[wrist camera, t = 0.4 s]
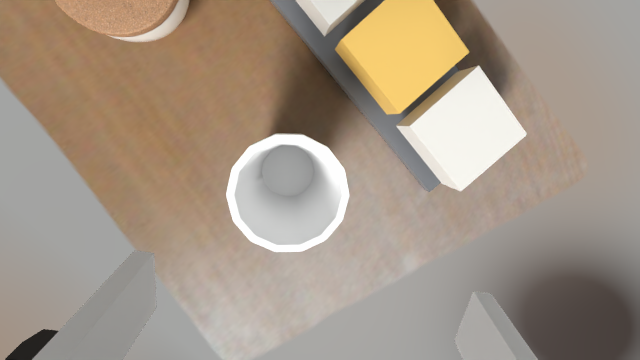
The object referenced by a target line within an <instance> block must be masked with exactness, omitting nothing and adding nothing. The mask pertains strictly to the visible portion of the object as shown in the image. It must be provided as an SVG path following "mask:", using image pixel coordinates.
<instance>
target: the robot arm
mask: <svg viewBox="0 0 640 360" xmlns="http://www.w3.org/2000/svg"><path fill="white" fill-rule="evenodd" d="M156 307H157V305H156V285H155V262H154V253H151V252H142V251H134V252H133V253H132V254H131V255H130V256H129V257H128V258H127V259H126V260H125V261H124V262H123V263H122V264H121V265H120V267H119V268H118V269H117V270H116V271H115V272H114V273H113V274H112V275H111V276H110V277H109V278H108V279H107V280H106V281H105V282H104V284H103V285H102V286H101V287H100V288H99V289H98V290H97V291H96V292H95V293H94V294H93V295H92V296H91V297H90V298H89V300H88V301H87V302H86V303H85V304H84V305H83V306H82V307H81V308H80V309H79V310H78V311H77V312H76V313H75V314H74V315H73V317H72V318H71V319H70V320H69V321H68V322H67V323H66V324H65V325H64V326H63V327H62V328H61V329H60V330H59V331H55V330H45V329H43V330H41V331H40V332H38V333H37V334H35V335H33V336H32V337H30V338H28V339H27V340H25V341H24V342H22V343H21V344H20V345H19V346H18V347H17V348H16V349H15V350H14V351H13V352H12V353H11V354H10V355H9V356H8V357H7V358H6V359H5V360H123V359H124V357H125V356H126V354H127V352H128V351H129V349H130V348H131V346H132V345H133V343H134V342H135V340H136V338H137V337H138V335H139V333H140V332H141V331H142V329H143V328H144V326H145V325H146V323H147V321H148V320H149V318H150V317H151V315H152V314H153V312H154V311H155V309H156ZM455 343H456V346H457V348H458V350H459V352H460V354H461V356H462V359H463V360H538V359H537V358H536V357H535V355H534V354H533V352H532V351H531V349H530V348H529V347H528V345H527V344H526V342H525V341H524V339H523V338H522V337H521V335H520V334H519V333H518V331H517V330H516V328H515V327H514V325H513V324H512V322H511V321H510V320H509V318H508V317H507V315H506V314H505V313H504V311H503V310H502V308H501V307H500V306H499V304H498V303H497V301H496V300H495V298H494V297H493V296H492V294H491V293H483V292H475V291H473V293H472V296H471V299H470V301H469V304H468V306H467V309H466V312H465V314H464V317H463V319H462V322H461V325H460V327H459V330H458V332H457V335H456V337H455Z"/></svg>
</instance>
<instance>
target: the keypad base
mask: <svg viewBox="0 0 640 360" xmlns="http://www.w3.org/2000/svg"><path fill="white" fill-rule="evenodd" d="M270 1H271V2H272V4H273V5H274V6H275V7H276V9H277V10H278V11H279V12H280V13H281V15H282V16H283V17H284V18H285V20H286V21H287V22H288V23H289V24H290V26H291V27H292V28H293V29H294V31H295V32H296V33H297V34H298V35H299V37H300V38H301V39H302V40H303V42H304V43H305V44H306V45H307V46H308V48H309V49H310V50H311V51H312V53H313V54H314V55H315V56H316V57H317V59H318V60H319V61H320V62H321V64H322V65H323V66H324V67H325V68H326V70H327V71H328V72H329V73H330V75H331V76H332V77H333V78H334V79H335V81H336V82H337V83H338V84H339V86H340V87H341V88H342V89H343V90H344V92H345V93H346V94H347V95H348V97H349V98H350V99H351V100H352V101H353V103H354V104H355V105H356V106H357V108H358V109H359V110H360V111H361V113H362V114H363V115H364V116H365V117H366V119H367V120H368V121H369V122H370V124H371V125H372V126H373V127H374V128H375V130H376V131H377V132H378V133H379V135H380V136H381V137H382V138H383V139H384V141H385V142H386V143H387V144H388V146H389V147H390V148H391V149H392V150H393V152H394V153H395V154H396V155H397V157H398V158H399V159H400V160H401V161H402V163H403V164H404V165H405V166H406V168H407V169H408V170H409V171H410V172H411V174H412V175H413V176H414V177H415V179H416V180H417V181H418V182H419V183H420V185H421V186H422V187H423V188H424V189H425V190H427V191H429V192H430V191H431V190H433V189H434V188H435V187H436V186H437V185H438V184H440V183H441V182H440V181H439V179H438V178H437V177H436V176H435V174H434V173H433V172H432V171H431V169H430V168H429V167H428V166H427V164H426V163H425V162H424V161H423V159H422V158H421V157H420V156H419V154H418V153H417V152H416V150H415V149H414V148H413V147H412V145H411V144H410V143H409V142H408V140H407V139H406V138H405V137H404V135H403V134H402V133H401V132H400V130H399V129H398V128H397V127H396V125H397V124H398V123H399V122H400V121H402V120H403V119H404V118H405V117H406V116H407V115H408V114H410V113H411V112H412V111H413V110H414V109H415V108H416V107H417V106H419V105H420V104H421V103H422V102H423V101H424V100H425V99H427V98H428V97H429V96H430V95H431V94H432V93H433V92H435V91H436V90H437V89H438V88H439V87H440V86H441V85H442V84H444V83H445V82H446V81H447V80H448V79H449V78H450V77H452V76H453V75H454V74H455V73H456V72H458V71H459V70H458V68H457V67H456V65H454V66H453V67H452V68H451V69H450V70H449V71H448V72H446V73H445V74H444V75H443V76H442V77H441V78H440V79H438V80H437V81H436V82H435V83H434V84H433V85H432V86H431V87H429V88H428V89H427V90H426V91H425V92H424V93H423V94H421V95H420V96H419V97H418V98H417V99H416V100H415V101H414V102H412V103H411V104H410V105H409V106H408V107H407V108H406V109H404V110H403V111H402V112H401V113H400V114H388V115H387V114H386V113H385V112H384V110H383V109H382V108H381V107H380V105H379V104H378V103H377V102H376V100H375V99H374V98H373V97H372V95H371V94H370V93H369V92H368V90H367V89H366V88H365V87H364V85H363V84H362V83H361V82H360V80H359V79H358V78H357V77H356V75H355V74H354V73H353V72H352V70H351V69H350V68H349V67H348V65H347V64H346V63H345V62H344V60H343V59H342V58H341V57H340V55H339V54H338V53H337V52H336V50H335V48H336V47H337V45H338V44H339V42H340V41H341V39H342V38H344V37H345V36H346V35H347V34H348V33H349V32H350V31H351V30H352V29H354V28H355V27H356V26H357V25H358V24H359V23H360V22H361V21H362V20H363V19H365V18H366V17H367V16H368V15H369V14H370V13H371V12H372V11H373V10H375V9H376V8H377V7H378V6H379V5H380V4H381V3H382V2H383V1H385V0H365V1H364V2H362V3H361V4H360V5H359V6H358V7H357V8H356V9H355V10H354V11H352V12H351V13H350V14H349V15H348V16H347V17H346V18H345V19H344V20H343V21H341V22H340V23H339V24H338V25H337V26H336V27H335V28H334V29H333V30H332V31H330V32H329V33H328V34H327V35H326V36H325V37H324V35H323V34H322V33H321V32H320V30H319V29H318V28H317V27H316V25H315V24H314V23H313V22H312V20H311V19H310V18H309V17H308V15H307V14H306V13H305V12H304V10H303V9H302V8H301V7H300V5H299V4H298V3H297V2H296V0H270Z"/></svg>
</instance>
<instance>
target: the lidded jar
mask: <svg viewBox="0 0 640 360" xmlns="http://www.w3.org/2000/svg"><path fill="white" fill-rule="evenodd" d="M55 2H56V3H57V4H58V6H59V7H60V8H61V9H62V10H63V11H64V12H65V13H66V14H67V15H69V16H70V17H71V18H72V19H74V20H75V21H76V22H78V23H80V24H82V25H83V26H85V27H87V28H89V29H91V30H94V31H96V32H99V33H101V34H105V35H108V36H111V37H113V38H117V39H121V40H125V41H130V42H150V41H154V40H158V39H161V38H163V37H165V36H167V35H168V34H170V33H171V32H173V31H174V30H175V29H176V28H177V27H178V26H179V24H180V23H181V22H182V20H183V18H184V16H185V14H186V12H187V9H188V6H189V0H55Z"/></svg>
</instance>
